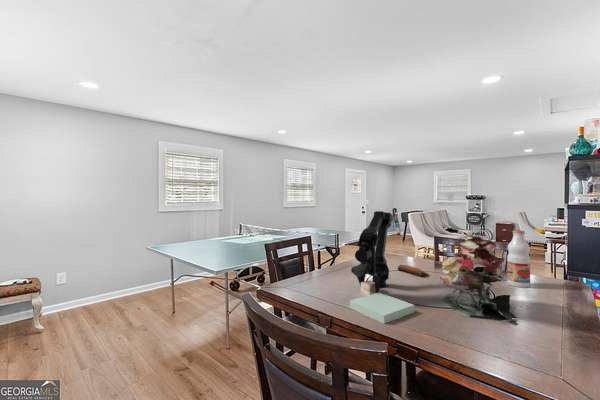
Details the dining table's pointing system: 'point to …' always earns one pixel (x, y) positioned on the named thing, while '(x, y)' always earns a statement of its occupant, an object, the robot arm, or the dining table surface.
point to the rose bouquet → (476, 279)
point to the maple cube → (367, 288)
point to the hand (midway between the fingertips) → (369, 290)
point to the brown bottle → (413, 270)
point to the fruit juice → (518, 261)
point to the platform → (382, 307)
